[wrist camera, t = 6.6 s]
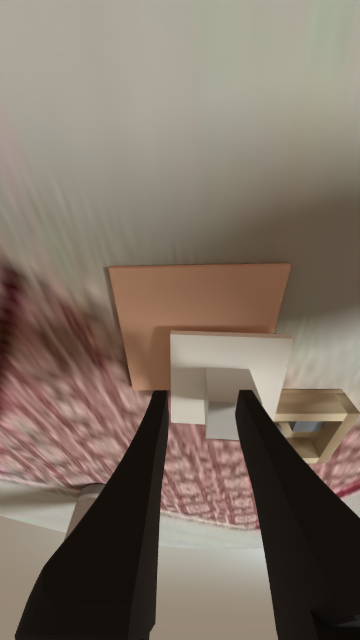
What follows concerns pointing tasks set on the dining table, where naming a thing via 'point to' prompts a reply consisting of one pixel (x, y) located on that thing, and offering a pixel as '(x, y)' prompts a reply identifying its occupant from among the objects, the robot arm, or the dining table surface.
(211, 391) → the lid
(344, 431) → the box
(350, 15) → the dining table surface
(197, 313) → the mat
